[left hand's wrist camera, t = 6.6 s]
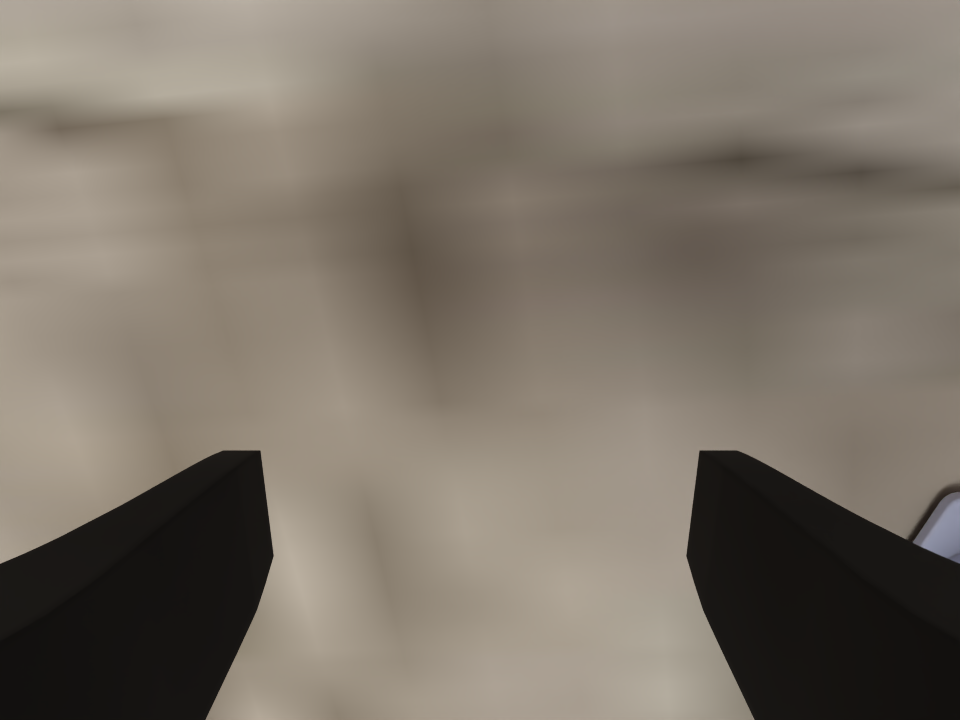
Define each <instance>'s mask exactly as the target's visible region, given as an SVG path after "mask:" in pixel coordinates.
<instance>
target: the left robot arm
mask: <svg viewBox="0 0 960 720" xmlns="http://www.w3.org/2000/svg"><path fill="white" fill-rule="evenodd" d="M272 560H273V548H272V540H271V532H270V524H269V516H268V508H267V500H266V492H265V484H264V476H263V468H262V460H261V452H260V451H221V452H219V453H216V454H214V455H212V456H210V457H207V458H206V459H204V460H202V461H200V462H198V463H196V464H194V465H192V466H190V467H189V468H187V469H185V470H183V471H181V472H180V473H178V474H176V475H174V476H173V477H171V478H169V479H167V480H166V481H164V482H162V483H160V484H158V485H157V486H155V487H153V488H151V489H150V490H148V491H146V492H144V493H142V494H141V495H139V496H137V497H135V498H134V499H132V500H130V501H128V502H126V503H125V504H123V505H121V506H119V507H117V508H115V509H113V510H111V511H109V512H107V513H106V514H104V515H102V516H100V517H98V518H96V519H94V520H92V521H90V522H88V523H86V524H84V525H82V526H80V527H78V528H77V529H75V530H73V531H71V532H69V533H67V534H65V535H63V536H61V537H59V538H57V539H55V540H53V541H51V542H49V543H46V544H44V545H42V546H40V547H38V548H36V549H33V550H31V551H29V552H27V553H25V554H22V555H20V556H18V557H15V558H13V559H11V560H8V561H6V562H4V563H1V564H0V720H205V719H206V717H207V715H208V713H209V711H210V709H211V707H212V705H213V703H214V700H215V698H216V696H217V694H218V692H219V690H220V688H221V686H222V684H223V682H224V679H225V677H226V675H227V673H228V671H229V669H230V667H231V665H232V663H233V661H234V658H235V656H236V654H237V652H238V650H239V648H240V646H241V643H242V641H243V639H244V637H245V635H246V633H247V631H248V628H249V626H250V624H251V622H252V620H253V617H254V615H255V613H256V611H257V608H258V605H259V602H260V599H261V596H262V593H263V590H264V587H265V583H266V580H267V577H268V573H269V570H270V566H271V563H272ZM687 560H688V563H689V566H690V570H691V573H692V577H693V580H694V583H695V587H696V590H697V593H698V596H699V599H700V602H701V605H702V608H703V611H704V613H705V615H706V617H707V620H708V622H709V624H710V626H711V628H712V631H713V633H714V635H715V637H716V639H717V641H718V643H719V646H720V648H721V650H722V652H723V654H724V656H725V658H726V661H727V663H728V665H729V667H730V669H731V671H732V673H733V675H734V677H735V679H736V682H737V684H738V686H739V688H740V690H741V692H742V694H743V696H744V698H745V700H746V703H747V705H748V707H749V709H750V711H751V713H752V715H753V717H754V719H755V720H960V492H955V493H951V494H949V495H947V496H945V497H944V498H943V499H942V500H941V501H940V503H939V504H938V506H937V507H936V509H935V510H934V511H933V513H932V514H931V516H930V517H929V519H928V520H927V522H926V523H925V525H924V526H923V528H922V529H921V531H920V532H919V534H918V535H917V537H916V538H915V540H914V541H913V543H912V542H910V541H908V540H906V539H904V538H902V537H900V536H898V535H896V534H894V533H892V532H890V531H888V530H886V529H884V528H882V527H880V526H878V525H876V524H874V523H872V522H870V521H868V520H866V519H864V518H862V517H860V516H858V515H856V514H854V513H853V512H851V511H849V510H847V509H845V508H843V507H841V506H840V505H838V504H836V503H834V502H832V501H830V500H829V499H827V498H825V497H823V496H822V495H820V494H818V493H816V492H814V491H813V490H811V489H809V488H807V487H806V486H804V485H802V484H800V483H798V482H797V481H795V480H793V479H791V478H790V477H788V476H786V475H784V474H783V473H781V472H779V471H777V470H775V469H774V468H772V467H770V466H768V465H766V464H764V463H763V462H761V461H759V460H757V459H755V458H753V457H751V456H749V455H747V454H744V453H742V452H739V451H700V452H699V460H698V468H697V476H696V484H695V492H694V500H693V508H692V516H691V524H690V532H689V540H688V548H687Z"/></svg>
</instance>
